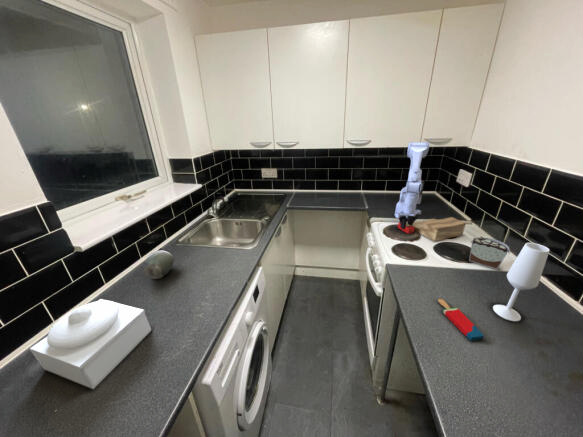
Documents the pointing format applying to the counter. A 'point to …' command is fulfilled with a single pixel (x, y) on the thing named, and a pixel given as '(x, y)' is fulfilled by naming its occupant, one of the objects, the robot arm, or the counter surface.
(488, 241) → the food container
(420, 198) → the coffee box
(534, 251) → the white wine glass
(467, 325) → the popsicle
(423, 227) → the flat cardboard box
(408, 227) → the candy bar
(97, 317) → the butter dish
